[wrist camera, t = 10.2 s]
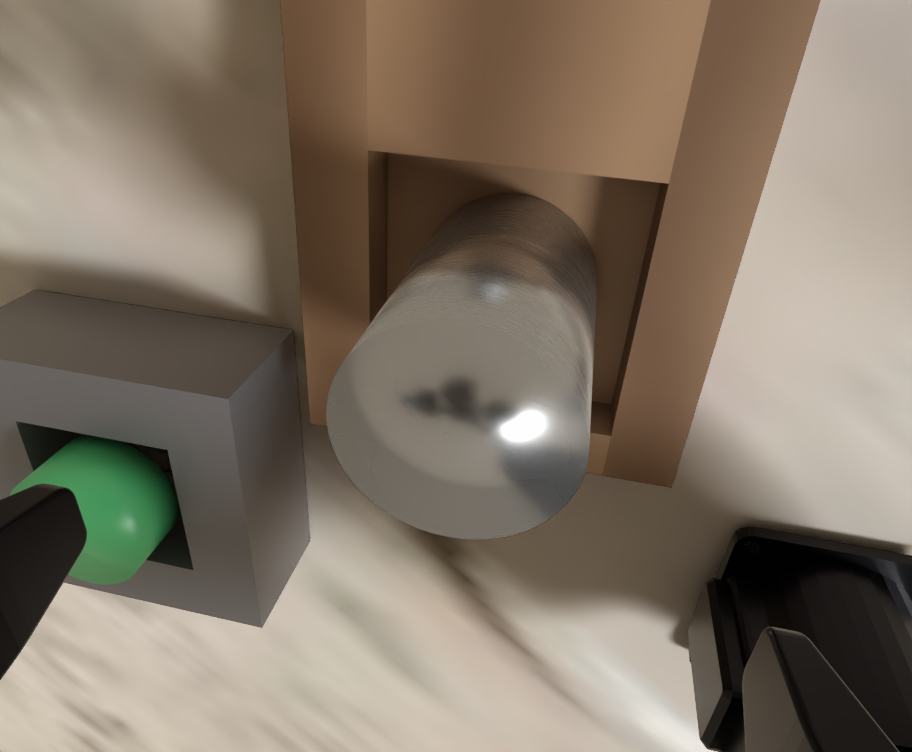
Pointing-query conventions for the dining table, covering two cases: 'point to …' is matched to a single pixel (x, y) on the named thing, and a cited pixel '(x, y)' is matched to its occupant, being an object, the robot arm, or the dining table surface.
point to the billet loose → (476, 375)
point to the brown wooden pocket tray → (544, 169)
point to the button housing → (170, 436)
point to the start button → (111, 504)
